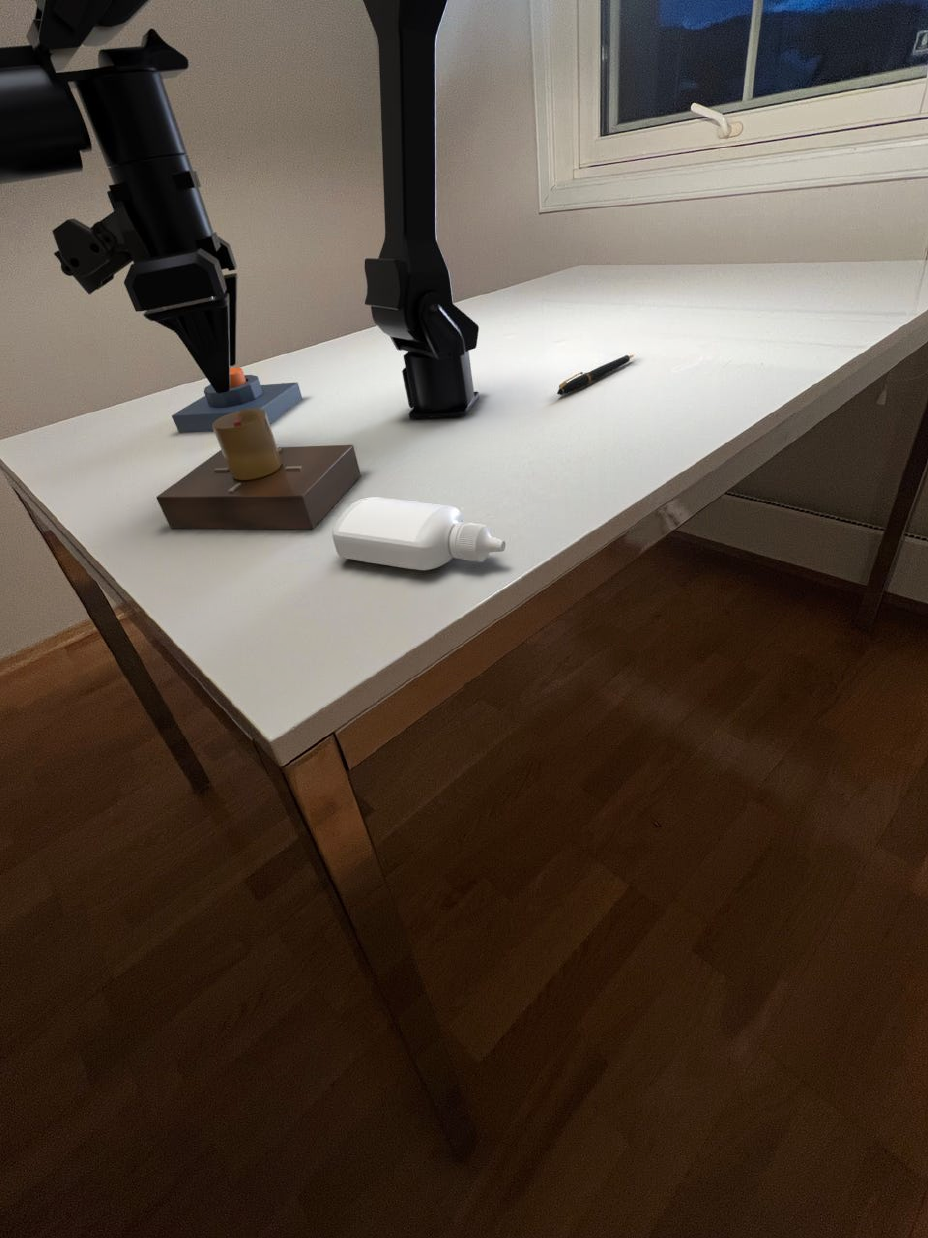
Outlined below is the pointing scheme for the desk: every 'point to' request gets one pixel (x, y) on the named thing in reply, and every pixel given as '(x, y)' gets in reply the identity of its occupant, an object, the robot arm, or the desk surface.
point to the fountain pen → (591, 375)
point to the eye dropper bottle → (410, 534)
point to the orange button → (236, 377)
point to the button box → (237, 403)
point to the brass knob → (247, 444)
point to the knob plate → (263, 491)
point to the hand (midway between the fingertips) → (227, 378)
